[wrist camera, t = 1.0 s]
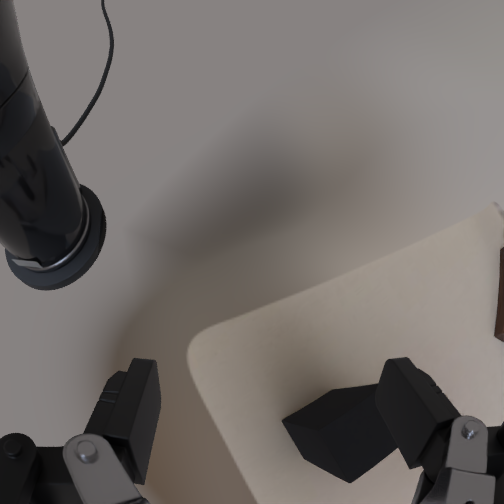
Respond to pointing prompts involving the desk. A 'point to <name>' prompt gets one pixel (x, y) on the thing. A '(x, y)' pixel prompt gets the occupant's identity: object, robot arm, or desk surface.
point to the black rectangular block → (342, 432)
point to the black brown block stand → (500, 301)
